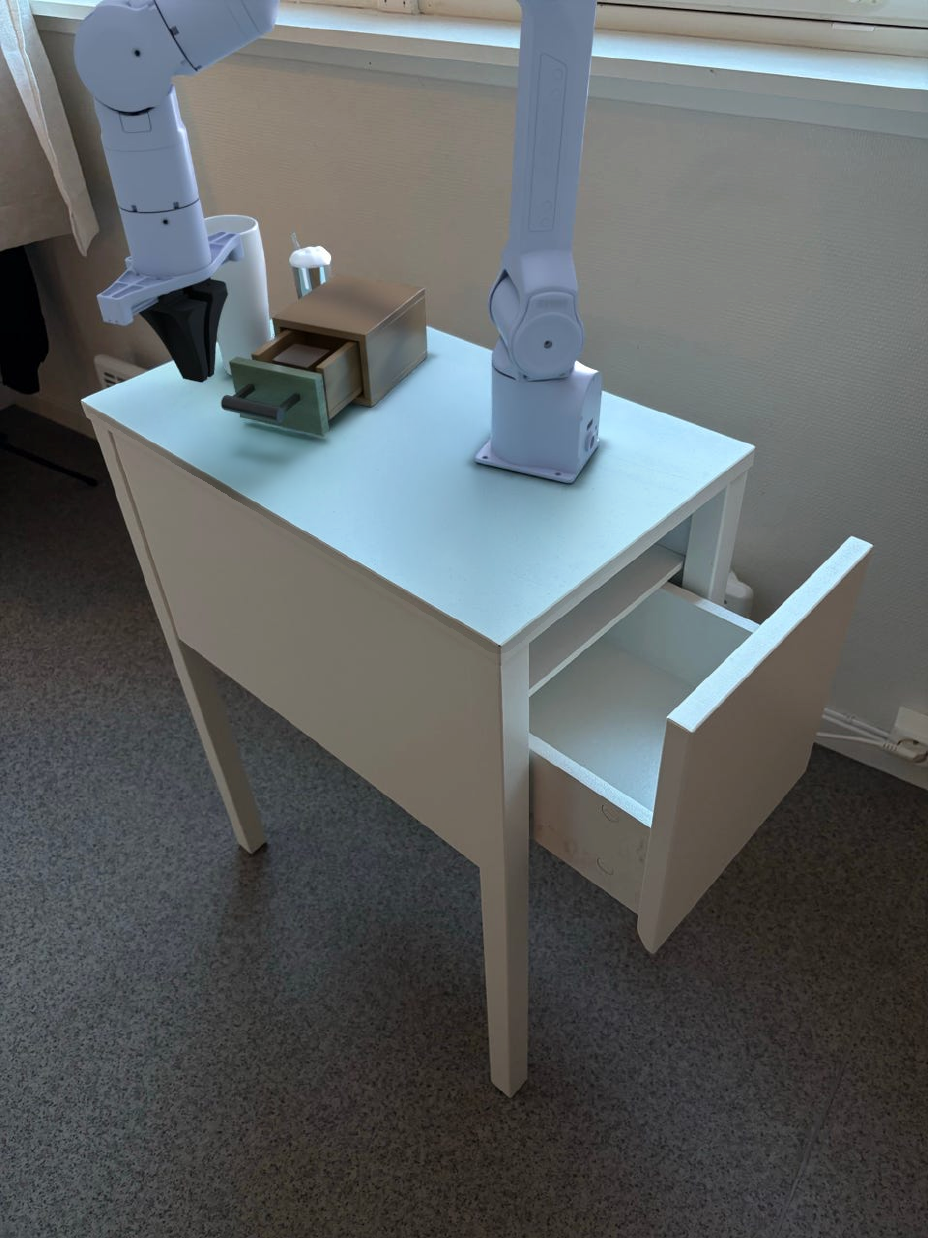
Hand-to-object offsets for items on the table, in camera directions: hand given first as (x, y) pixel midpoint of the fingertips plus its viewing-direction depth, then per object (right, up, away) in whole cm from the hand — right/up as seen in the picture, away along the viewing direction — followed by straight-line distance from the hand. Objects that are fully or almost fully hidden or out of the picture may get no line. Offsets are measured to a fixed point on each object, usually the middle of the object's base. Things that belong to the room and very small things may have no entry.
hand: (198, 376), depth 75 cm
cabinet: (+10, +7, +23) cm, 26 cm away
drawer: (+6, +1, +15) cm, 16 cm away
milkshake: (+5, +14, +32) cm, 35 cm away
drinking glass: (-1, +7, +24) cm, 25 cm away
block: (+6, +2, +15) cm, 17 cm away
